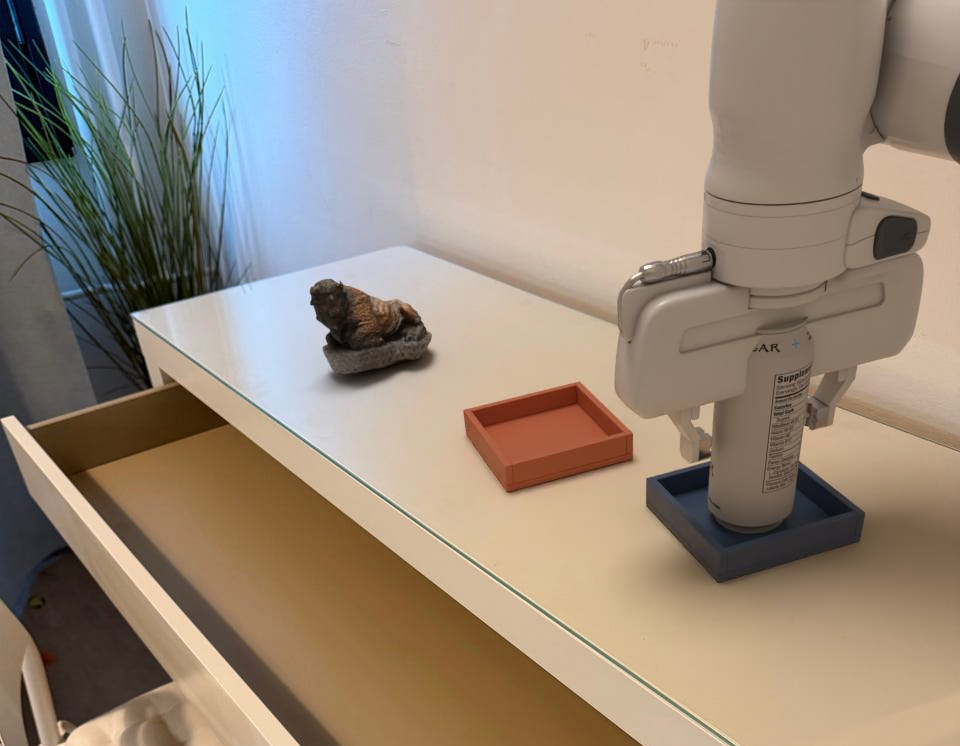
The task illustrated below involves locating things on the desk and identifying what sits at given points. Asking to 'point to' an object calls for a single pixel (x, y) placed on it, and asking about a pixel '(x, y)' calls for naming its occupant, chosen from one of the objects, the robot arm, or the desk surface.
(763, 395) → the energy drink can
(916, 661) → the desk surface
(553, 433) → the terracotta tray
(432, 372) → the desk surface
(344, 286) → the bison figurine
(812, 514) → the slate tray
